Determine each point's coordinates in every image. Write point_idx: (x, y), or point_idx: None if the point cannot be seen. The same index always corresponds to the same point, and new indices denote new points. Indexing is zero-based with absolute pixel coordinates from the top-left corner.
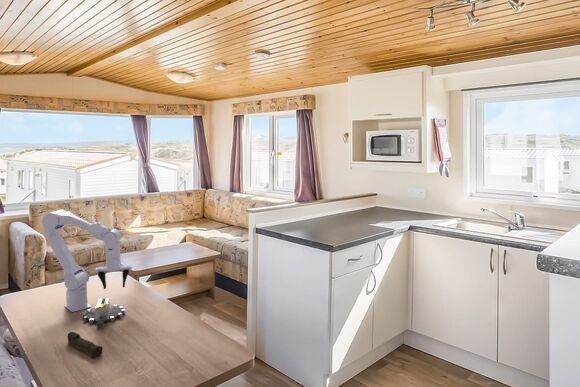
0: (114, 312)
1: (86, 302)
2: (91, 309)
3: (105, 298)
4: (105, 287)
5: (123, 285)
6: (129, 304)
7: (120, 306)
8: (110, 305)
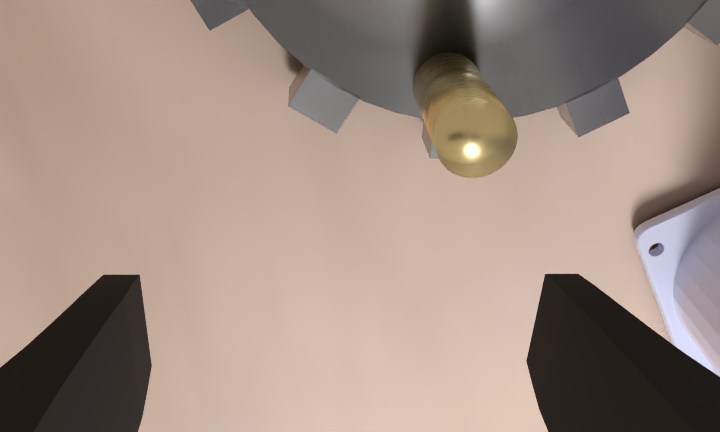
0: None
1: (715, 275)
2: (678, 21)
3: (501, 130)
4: (556, 297)
5: (105, 297)
6: (142, 201)
7: (232, 14)
8: (397, 110)
